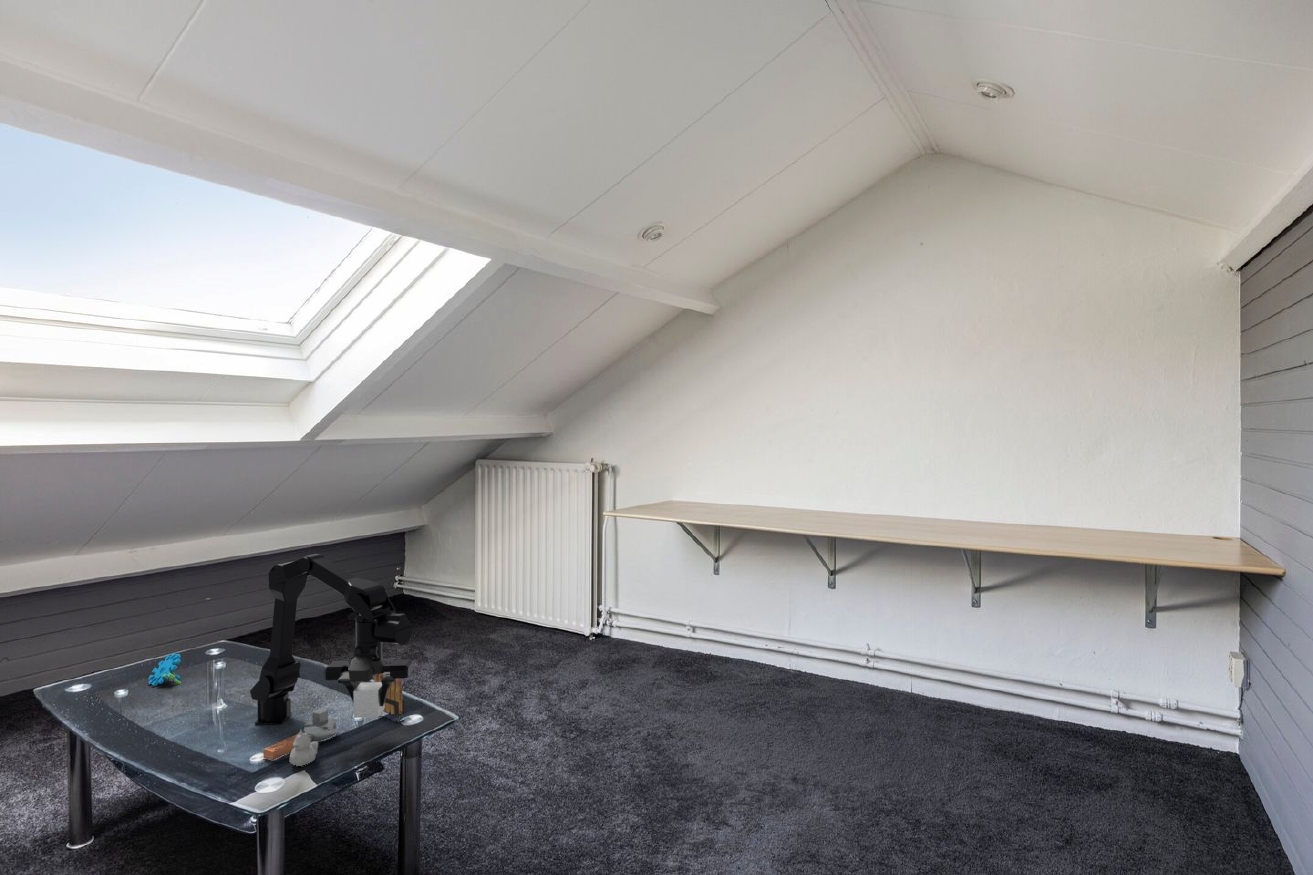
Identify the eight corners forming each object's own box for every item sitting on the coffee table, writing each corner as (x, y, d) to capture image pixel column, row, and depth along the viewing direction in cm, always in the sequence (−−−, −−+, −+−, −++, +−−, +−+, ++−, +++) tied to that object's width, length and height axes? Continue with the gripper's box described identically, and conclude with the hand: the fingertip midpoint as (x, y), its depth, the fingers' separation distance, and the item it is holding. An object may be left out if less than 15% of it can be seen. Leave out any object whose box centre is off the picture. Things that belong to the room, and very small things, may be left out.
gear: (143, 675, 219) (172, 646, 223) (160, 685, 223) (189, 657, 226) (150, 690, 211) (181, 660, 215) (168, 701, 214) (198, 671, 218)
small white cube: (353, 717, 177) (353, 690, 177) (360, 708, 183) (360, 682, 182) (378, 716, 178) (378, 690, 177) (384, 707, 183) (384, 681, 183)
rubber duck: (282, 766, 167) (282, 730, 166) (309, 755, 173) (309, 719, 172) (299, 772, 164) (299, 735, 164) (325, 760, 170) (325, 724, 170)
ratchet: (321, 728, 187) (321, 703, 187) (343, 733, 184) (342, 708, 184) (257, 757, 171) (256, 730, 171) (279, 763, 168) (279, 736, 168)
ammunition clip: (371, 713, 197) (371, 666, 196) (378, 710, 198) (377, 664, 198) (398, 722, 191) (398, 674, 190) (404, 720, 192) (404, 672, 192)
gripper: (315, 651, 171) (315, 720, 171) (401, 649, 172) (402, 718, 173) (331, 636, 182) (332, 702, 182) (413, 634, 184) (413, 700, 184)
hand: (369, 706), depth 180 cm, fingers closed on small white cube, 5 cm apart
